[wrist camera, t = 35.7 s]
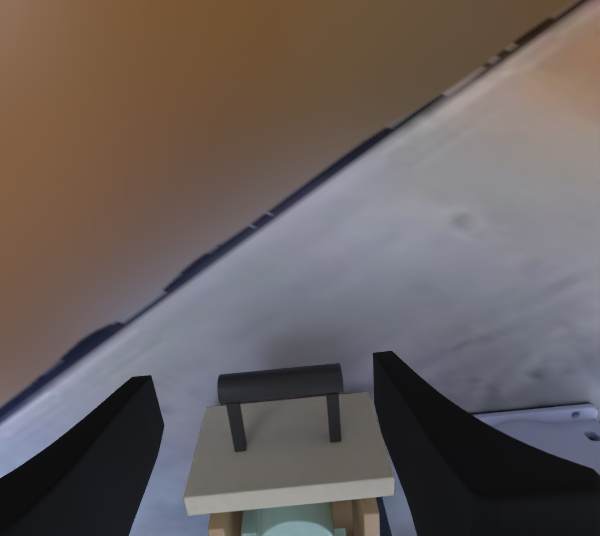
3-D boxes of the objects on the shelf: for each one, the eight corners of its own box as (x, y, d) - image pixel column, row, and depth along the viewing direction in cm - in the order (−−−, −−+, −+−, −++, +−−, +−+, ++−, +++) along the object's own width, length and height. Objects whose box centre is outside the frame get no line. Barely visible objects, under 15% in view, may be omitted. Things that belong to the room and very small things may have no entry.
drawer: (192, 342, 23) (163, 421, 17) (366, 326, 23) (394, 398, 18) (233, 543, 29) (221, 651, 23) (372, 529, 29) (394, 633, 24)
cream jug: (333, 440, 25) (345, 516, 20) (336, 491, 26) (348, 573, 22) (243, 449, 25) (233, 527, 20) (251, 499, 26) (245, 583, 22)
